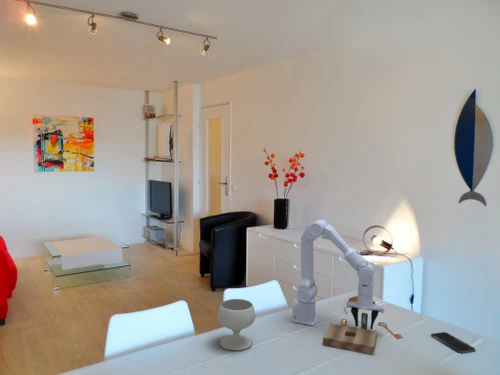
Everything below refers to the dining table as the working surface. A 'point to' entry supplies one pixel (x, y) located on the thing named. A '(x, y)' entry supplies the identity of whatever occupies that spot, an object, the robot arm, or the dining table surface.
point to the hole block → (350, 338)
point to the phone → (453, 342)
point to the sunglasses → (355, 299)
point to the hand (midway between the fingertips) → (364, 327)
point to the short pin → (344, 322)
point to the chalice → (236, 322)
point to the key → (390, 331)
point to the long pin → (364, 320)
